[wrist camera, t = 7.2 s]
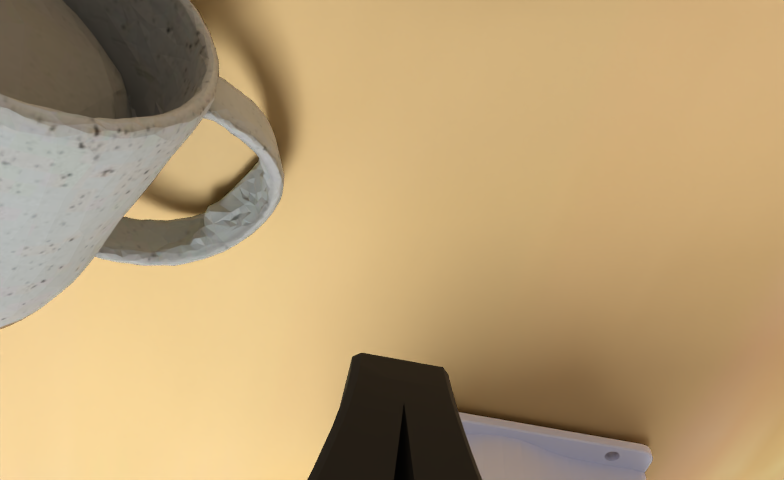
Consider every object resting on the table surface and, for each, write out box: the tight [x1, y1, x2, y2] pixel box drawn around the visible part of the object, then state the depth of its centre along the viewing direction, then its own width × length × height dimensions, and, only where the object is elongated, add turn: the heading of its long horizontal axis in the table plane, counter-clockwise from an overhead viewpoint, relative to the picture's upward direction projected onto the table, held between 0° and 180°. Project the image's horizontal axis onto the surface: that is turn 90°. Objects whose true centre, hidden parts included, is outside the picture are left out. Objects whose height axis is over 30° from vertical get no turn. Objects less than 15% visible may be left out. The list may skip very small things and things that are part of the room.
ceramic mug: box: [0, 0, 284, 329], centre depth 17 cm, size 11×8×8 cm
